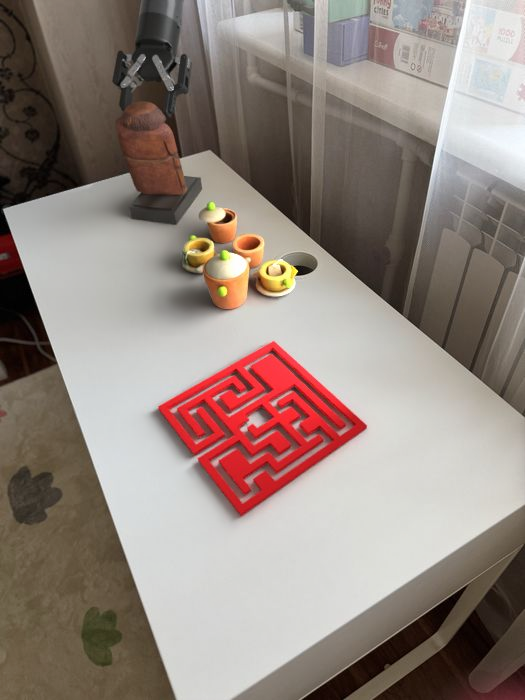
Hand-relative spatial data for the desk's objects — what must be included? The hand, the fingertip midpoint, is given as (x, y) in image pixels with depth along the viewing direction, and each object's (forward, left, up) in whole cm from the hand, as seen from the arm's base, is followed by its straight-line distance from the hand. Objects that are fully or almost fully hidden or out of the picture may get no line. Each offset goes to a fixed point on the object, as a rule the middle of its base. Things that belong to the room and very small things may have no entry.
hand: (145, 113), depth 97 cm
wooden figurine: (-1, +2, -16) cm, 16 cm away
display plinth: (0, +1, -19) cm, 19 cm away
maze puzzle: (+35, -47, -19) cm, 61 cm away
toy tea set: (+20, -17, -19) cm, 32 cm away
